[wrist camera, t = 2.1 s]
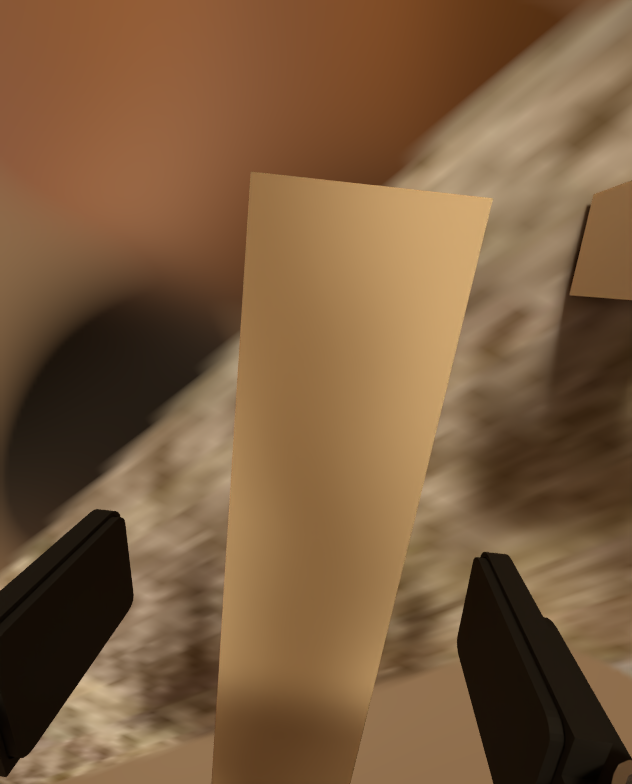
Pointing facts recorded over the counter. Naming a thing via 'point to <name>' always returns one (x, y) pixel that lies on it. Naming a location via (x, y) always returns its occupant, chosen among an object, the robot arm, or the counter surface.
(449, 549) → the counter surface
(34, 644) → the robot arm
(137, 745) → the counter surface
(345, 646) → the rail
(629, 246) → the bracket stand
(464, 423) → the counter surface
